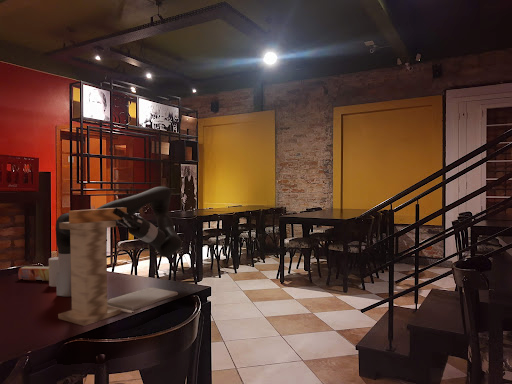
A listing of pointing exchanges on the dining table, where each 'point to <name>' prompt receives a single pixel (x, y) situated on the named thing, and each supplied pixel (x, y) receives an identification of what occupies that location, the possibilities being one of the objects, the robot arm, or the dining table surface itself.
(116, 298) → the mat
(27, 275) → the snack package
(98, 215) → the bar
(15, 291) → the dining table surface
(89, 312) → the stand
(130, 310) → the line
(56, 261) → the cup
